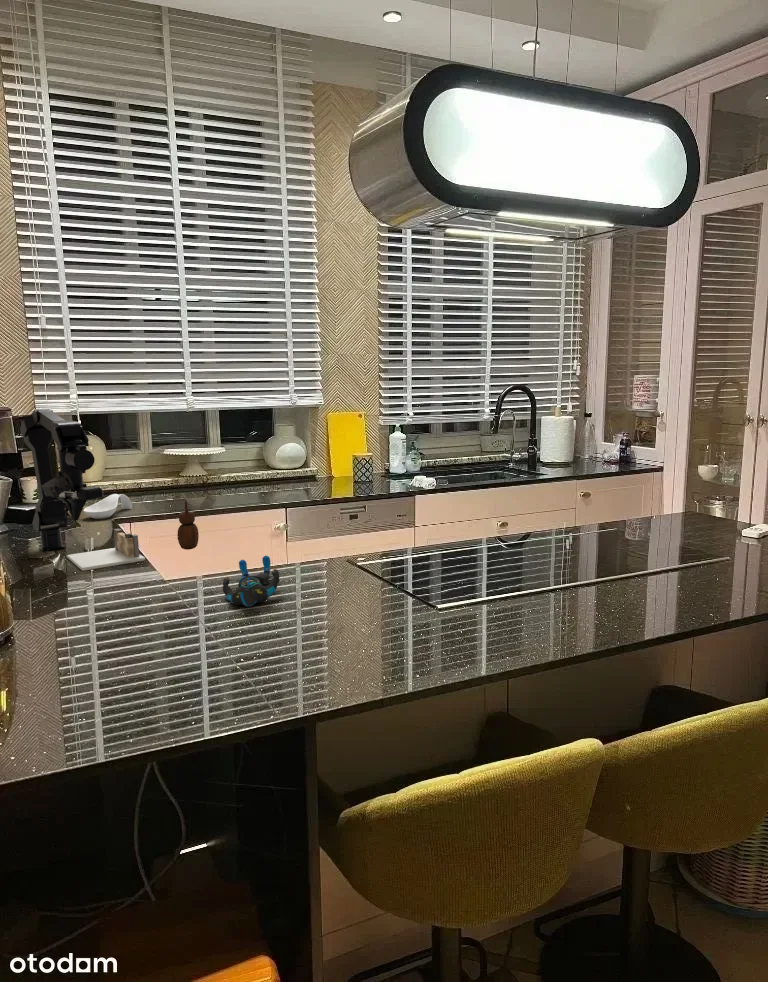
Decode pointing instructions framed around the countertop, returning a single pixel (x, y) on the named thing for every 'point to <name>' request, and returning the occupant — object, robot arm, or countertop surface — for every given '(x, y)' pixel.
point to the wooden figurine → (187, 530)
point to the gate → (125, 542)
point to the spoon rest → (107, 506)
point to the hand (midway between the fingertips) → (75, 520)
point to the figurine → (252, 585)
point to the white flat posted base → (106, 556)
